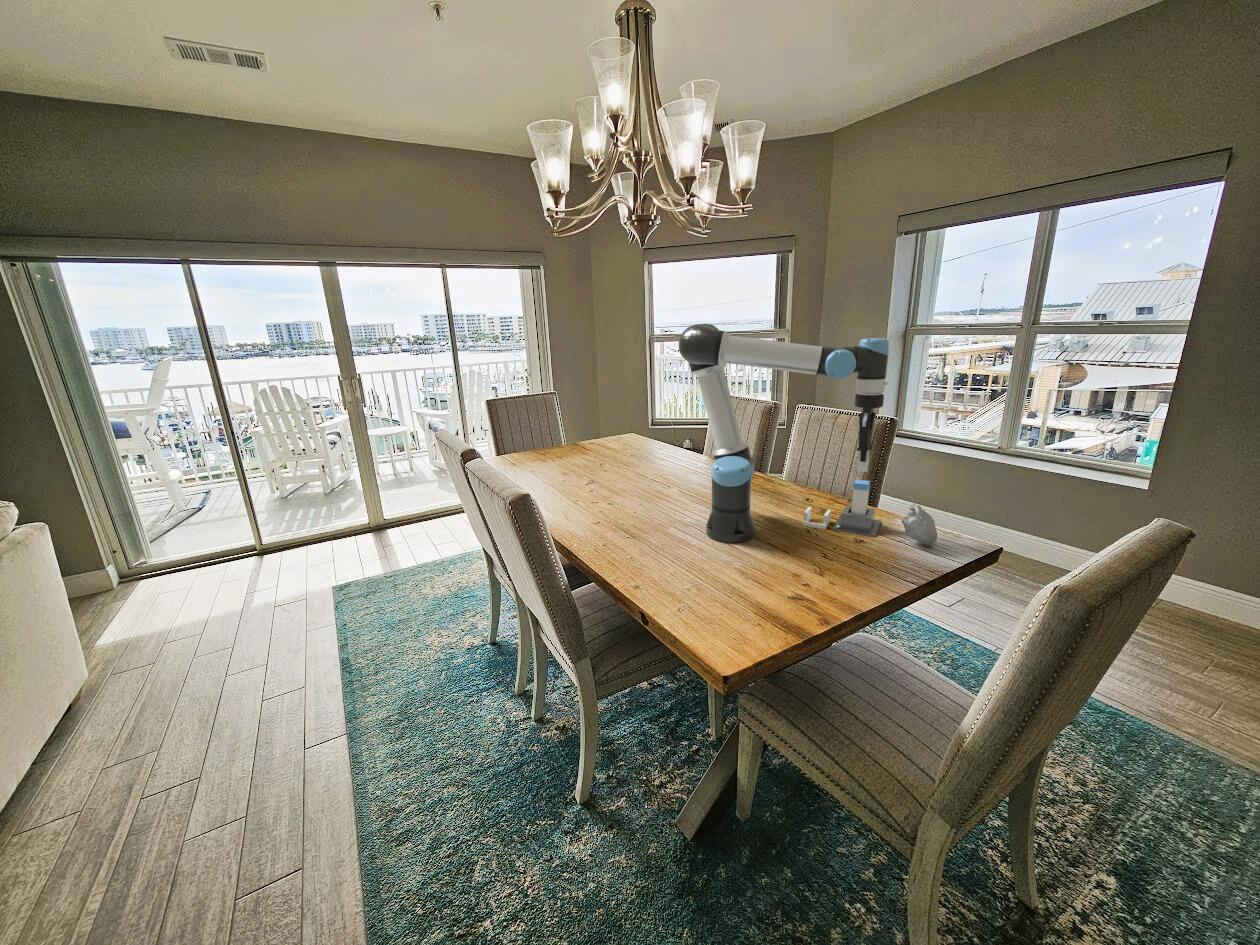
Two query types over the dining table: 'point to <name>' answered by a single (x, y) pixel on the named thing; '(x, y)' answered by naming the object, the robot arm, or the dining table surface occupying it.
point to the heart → (920, 526)
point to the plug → (860, 497)
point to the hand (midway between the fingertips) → (862, 470)
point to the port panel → (857, 522)
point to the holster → (822, 526)
